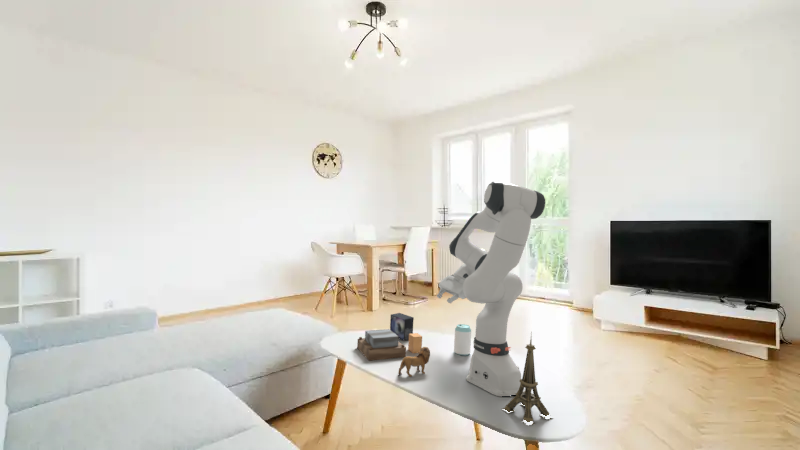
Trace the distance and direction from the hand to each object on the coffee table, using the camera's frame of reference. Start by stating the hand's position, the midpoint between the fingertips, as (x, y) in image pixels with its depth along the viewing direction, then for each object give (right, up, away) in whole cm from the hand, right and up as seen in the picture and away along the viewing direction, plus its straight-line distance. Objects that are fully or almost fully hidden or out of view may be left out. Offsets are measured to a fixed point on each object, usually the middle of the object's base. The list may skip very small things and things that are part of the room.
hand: (443, 299), depth 172 cm
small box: (-19, -21, +14) cm, 32 cm away
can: (+8, -22, -5) cm, 24 cm away
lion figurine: (-14, -22, -30) cm, 39 cm away
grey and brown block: (-28, -20, -9) cm, 36 cm away
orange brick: (-13, -21, -5) cm, 26 cm away
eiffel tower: (+19, -24, -57) cm, 64 cm away
